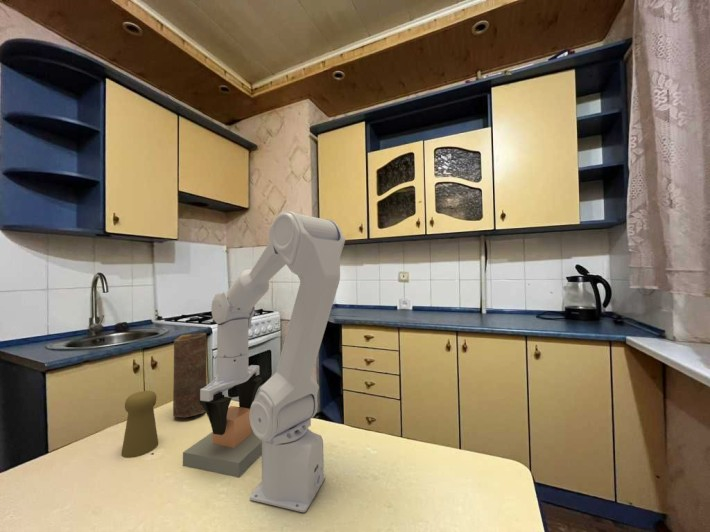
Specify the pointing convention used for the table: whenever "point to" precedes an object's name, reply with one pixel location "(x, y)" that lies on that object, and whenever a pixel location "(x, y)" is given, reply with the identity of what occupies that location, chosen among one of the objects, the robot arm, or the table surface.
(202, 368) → the candle
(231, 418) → the terracotta cube
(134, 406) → the cork
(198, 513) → the table surface
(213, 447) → the grey square plate
